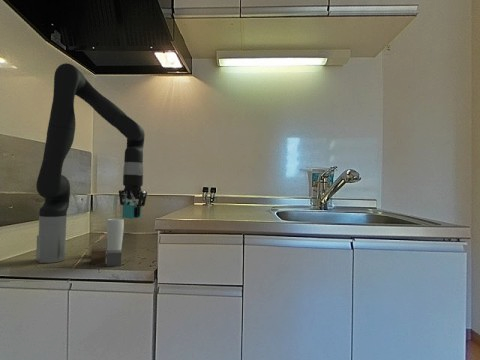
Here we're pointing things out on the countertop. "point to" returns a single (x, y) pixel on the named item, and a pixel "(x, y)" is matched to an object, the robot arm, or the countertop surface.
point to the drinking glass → (115, 233)
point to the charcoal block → (113, 258)
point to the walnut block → (98, 256)
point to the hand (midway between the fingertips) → (131, 216)
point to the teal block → (129, 211)
